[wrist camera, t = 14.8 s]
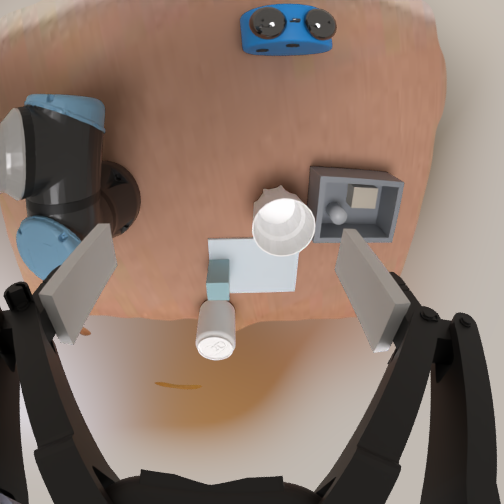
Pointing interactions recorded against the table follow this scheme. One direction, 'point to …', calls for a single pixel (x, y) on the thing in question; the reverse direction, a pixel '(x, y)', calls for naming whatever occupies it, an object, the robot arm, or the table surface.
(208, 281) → the pale blue stand
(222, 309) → the beverage can
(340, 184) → the tub
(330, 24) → the alarm clock
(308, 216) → the cup
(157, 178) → the table surface
